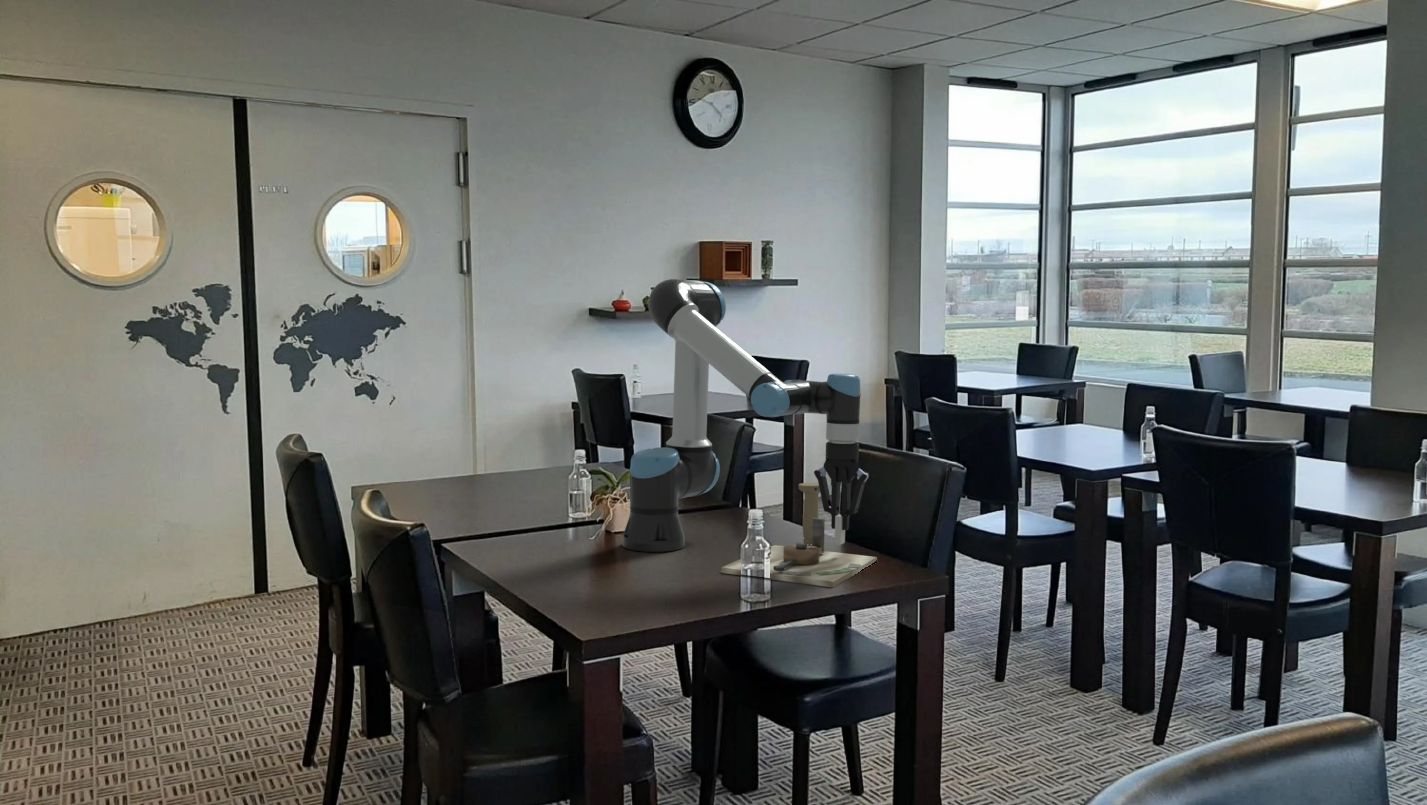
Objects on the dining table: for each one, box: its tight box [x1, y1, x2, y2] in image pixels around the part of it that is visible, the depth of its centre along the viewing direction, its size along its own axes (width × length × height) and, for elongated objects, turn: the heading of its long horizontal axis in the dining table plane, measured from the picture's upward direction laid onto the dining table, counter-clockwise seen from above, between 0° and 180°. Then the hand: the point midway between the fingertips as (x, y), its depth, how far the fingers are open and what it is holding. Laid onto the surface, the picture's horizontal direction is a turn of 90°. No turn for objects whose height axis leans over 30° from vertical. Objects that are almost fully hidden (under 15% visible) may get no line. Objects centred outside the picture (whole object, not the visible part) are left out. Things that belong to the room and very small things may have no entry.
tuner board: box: [720, 544, 878, 588], centre depth 249 cm, size 26×28×1 cm
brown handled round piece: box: [774, 517, 826, 571], centre depth 248 cm, size 25×8×8 cm, turn 153°
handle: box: [798, 482, 821, 544], centre depth 274 cm, size 5×6×15 cm
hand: (839, 543), depth 256 cm, fingers closed
